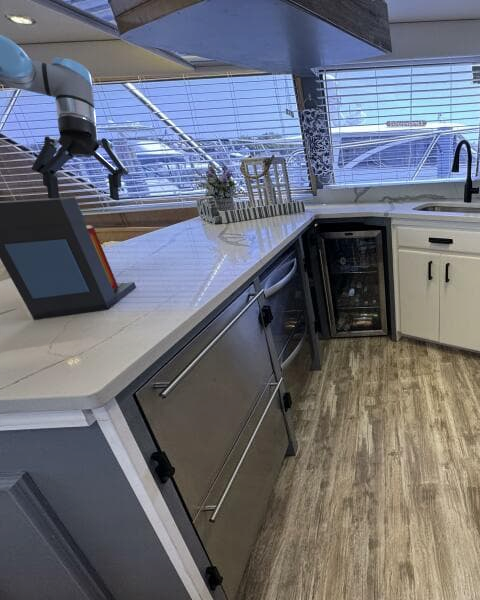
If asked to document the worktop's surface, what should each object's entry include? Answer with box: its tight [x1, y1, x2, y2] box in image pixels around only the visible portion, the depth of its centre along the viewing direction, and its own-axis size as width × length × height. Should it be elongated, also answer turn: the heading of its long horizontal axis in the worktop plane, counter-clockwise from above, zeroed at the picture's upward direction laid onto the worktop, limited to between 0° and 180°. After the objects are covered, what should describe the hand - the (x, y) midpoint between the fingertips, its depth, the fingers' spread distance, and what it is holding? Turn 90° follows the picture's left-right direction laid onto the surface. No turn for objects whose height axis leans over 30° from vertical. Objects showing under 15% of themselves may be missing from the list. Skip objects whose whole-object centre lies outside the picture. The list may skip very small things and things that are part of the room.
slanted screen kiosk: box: [0, 196, 137, 321], centre depth 76 cm, size 14×16×25 cm
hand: (85, 199), depth 87 cm, fingers open, 13 cm apart
